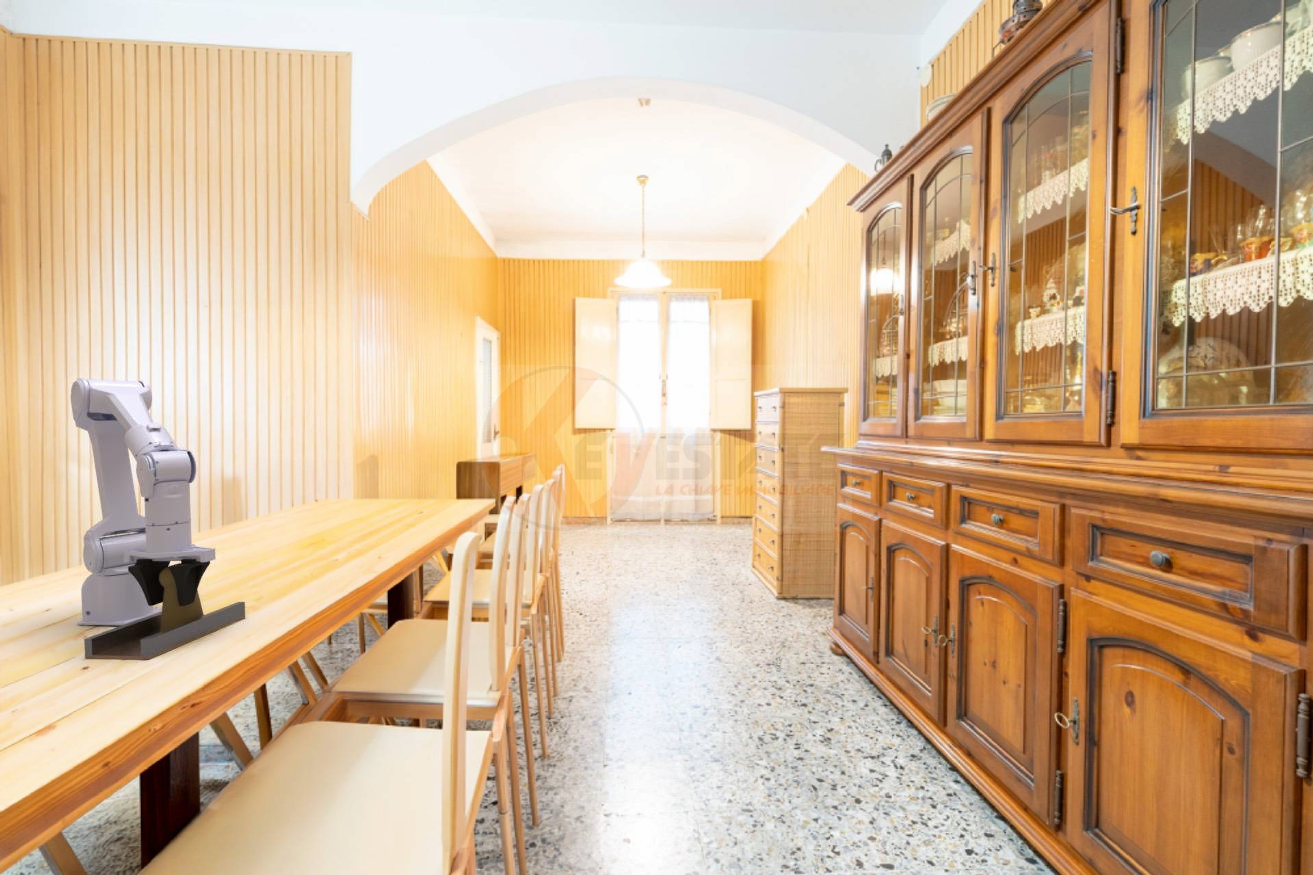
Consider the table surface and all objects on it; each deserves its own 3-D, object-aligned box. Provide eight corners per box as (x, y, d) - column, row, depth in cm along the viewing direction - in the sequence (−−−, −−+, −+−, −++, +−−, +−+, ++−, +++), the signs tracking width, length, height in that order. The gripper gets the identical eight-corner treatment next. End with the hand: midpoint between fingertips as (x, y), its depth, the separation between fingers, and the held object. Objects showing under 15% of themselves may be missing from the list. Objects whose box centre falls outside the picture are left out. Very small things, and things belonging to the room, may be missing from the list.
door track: (85, 658, 85) (84, 638, 85) (192, 617, 103) (191, 601, 103) (148, 659, 84) (147, 639, 84) (245, 618, 102) (244, 601, 102)
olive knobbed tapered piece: (178, 636, 92) (173, 570, 91) (150, 635, 93) (145, 569, 93) (215, 623, 97) (210, 560, 97) (187, 621, 99) (183, 560, 98)
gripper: (229, 518, 96) (232, 596, 97) (151, 519, 98) (154, 596, 98) (192, 526, 89) (195, 610, 90) (109, 526, 91) (112, 609, 91)
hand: (171, 604), depth 93 cm, fingers closed on olive knobbed tapered piece, 5 cm apart
